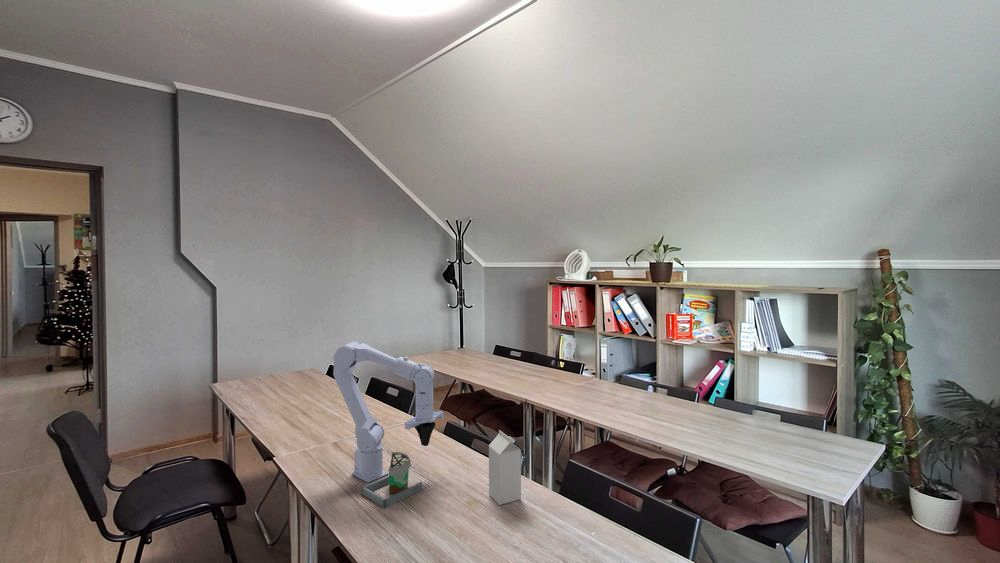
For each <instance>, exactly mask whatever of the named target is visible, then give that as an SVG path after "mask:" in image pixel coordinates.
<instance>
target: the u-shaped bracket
mask: <svg viewBox="0 0 1000 563" xmlns="http://www.w3.org/2000/svg"><path fill="white" fill-rule="evenodd" d="M386 485H389V475H386V476H384V477H383V478H382V477H381V478H379V479H377V480H374V482H373V481H372V482H370V483H369V484H366V485H364V486H362V487H361V495H363V496H364V497H365V498H367V499H369V500H371V501H372V502H374V503H376V504H378V505H379V506H381V507H382V508H386V507H389V506H391V505H393V504H394V503H397V502H399V501H401V500H403V499H405V498H408V497H409V496H411V495H414V494H415V493H418V492H420V491H422V490H423V482H422V481H420V482H418V483H415V484H413V485H411V486H408V488H407V489H405V490H402V491H400V492H398V493H396V494H394V495H392V496H388V497H386V498H385V497H383V496H381V495H379V494H377V493H375V490H377V489H379V488H381V487H384V486H386Z"/></svg>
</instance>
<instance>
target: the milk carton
mask: <svg viewBox="0 0 1000 563" xmlns="http://www.w3.org/2000/svg"><path fill="white" fill-rule="evenodd" d="M515 442H516V439H514V438H513V437H511V435H510V436H508V435H507V434H505V433H504V432H503V431H501V430H499V429H498V434H497V435H496V436H495V437H494V438H493V440H492V441H491V442H490V443H489V445H488V494H489V496H490V497H491V498H492V499H493V500H494V501H495V502H496V503H497V504H498V505H499V506H501V505H504V504H508V503H513V502H515V501H519V500H522V450H521V449H520V447H518V446H517V445H516V444H514V443H515Z"/></svg>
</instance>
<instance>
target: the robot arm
mask: <svg viewBox="0 0 1000 563" xmlns="http://www.w3.org/2000/svg"><path fill="white" fill-rule="evenodd" d="M332 359H333V373H332V374H333V378H334V379H335V382H336V384H337V387H338V388H339V391H340V393H341V395H342V397H343V399H344V402H345V404H346V406H347V409H348V410H349V413H350V415H351V417H352V420H353V422H354V424H355V430H354V434H355V437H356V446H357V447H356V449H355V450H354V453H353V454H354V455H353V461H354V462H353V465H354V466H353V467H354V468H353V470H354V471H352V472H351V474H352V475H353V476H355V477H357V478H359V479H360V480H362V481H364V482H366V483H372V482H373V481H376V480H379V479H381V478H382V477H386V476H388V475H389V471H387V470H385V469H383V468H384V467H383V465H384V461H383V457H384V456H383V444H382V439H383V438H384V436H385V428H384V427H383V426H382V425H381V424H380V423H379V422H378V421H377V418H376V417H374V416H372V414H371V413H370V410H369V408H368V405H367V404H366V401H365V399H364V397H363V395H362V393H361V391H360V388H359V386H358V384H357V381H356V379H355V377H354V375H353V371H354V369H355V368H356V367H355V366H356V365H357V363H361V362H365V361H370V362H373V363H376V364H378V365H381V366H384V367H386V368H387V367H388V368H390V369H391V370H392V373H393V374H394V375H398V376H400V377H402V378H404V379H407V380H409V381H413V383H414V384H415V395H414V396H415V416H414V417H412V418H411V419H409V420H408V421H406V422H404V429H405V430H408V431H409V430H411V429H412V428H415V430H416V432H417V435H418V437H419V439H420V440H419V441H420V445H421V446H423V447H427V446H430V445H429V443H430V441H431V440H430V439H431V438H432V437H431V436H432V433H433V431H434V429H435V428H436V422H435V421H436V420H437V419H443V418H444V411H441V410H438V411H434V382H433V379H434V377H435V370H434V368H433V367H432V366H431V365H429V364H423V363H422V362H418V363H417V362H416V361H413V360H411V359H409V357H408V356H406V355H405V356H399V357H397V358H396V357H393V356H392V355H389V354H387V353H384V352H382V351H381V350H379V349H376V348H375V347H372V346H370V345H368V344H367V343H363V342H360V341H358V340H351V341H350V342H348V343H346V344H345V345H342V346H339V347H338V348H337V349H336V351H335V353H334V355H333V357H332Z"/></svg>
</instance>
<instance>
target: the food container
mask: <svg viewBox="0 0 1000 563" xmlns="http://www.w3.org/2000/svg"><path fill="white" fill-rule="evenodd" d="M389 465H390V466H389V467H388V476H389V484H388V486H389V490H388V491H389V496H388V497H390V496H392V495H394V494H396V493H398V492H400V491H402V490H405V489H407V488H409V469H411V467H412V463H411V459H410V457H409V455H408V454H407V453H404V452H400V451H391V459H390V464H389Z"/></svg>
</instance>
